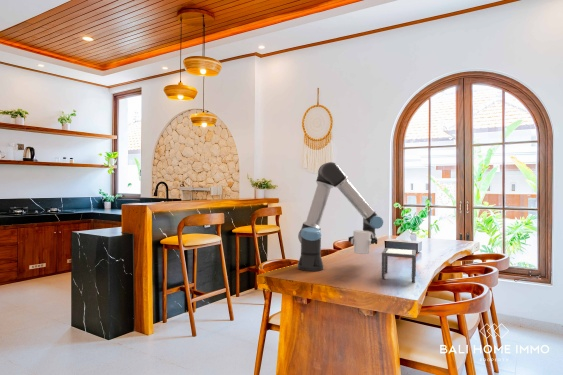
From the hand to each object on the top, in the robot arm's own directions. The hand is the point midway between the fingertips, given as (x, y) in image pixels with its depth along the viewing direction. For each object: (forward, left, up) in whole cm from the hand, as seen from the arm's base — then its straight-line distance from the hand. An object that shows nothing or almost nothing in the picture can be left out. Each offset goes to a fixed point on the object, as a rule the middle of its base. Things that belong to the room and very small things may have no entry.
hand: (360, 242), depth 211 cm
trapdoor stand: (+20, +4, -18) cm, 28 cm away
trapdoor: (+20, +4, -5) cm, 21 cm away
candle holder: (0, +4, -7) cm, 8 cm away
